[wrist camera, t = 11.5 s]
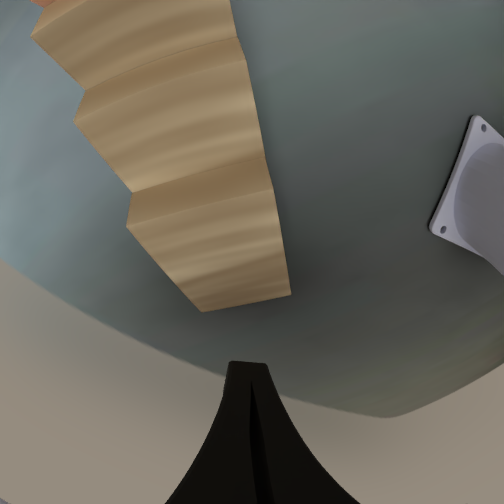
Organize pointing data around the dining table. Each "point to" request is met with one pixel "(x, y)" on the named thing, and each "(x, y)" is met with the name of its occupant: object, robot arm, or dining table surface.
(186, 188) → the domino
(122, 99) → the domino
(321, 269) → the dining table surface
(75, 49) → the domino
